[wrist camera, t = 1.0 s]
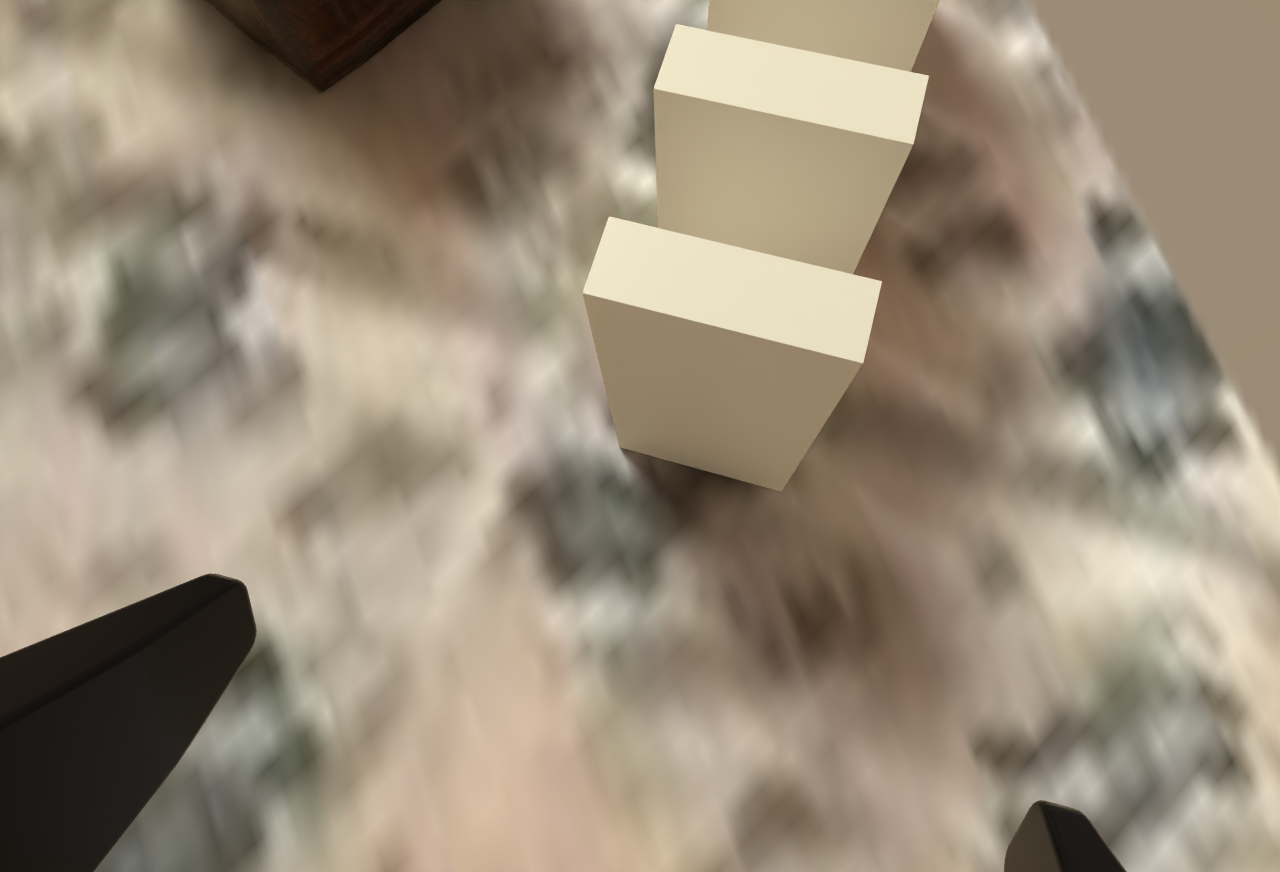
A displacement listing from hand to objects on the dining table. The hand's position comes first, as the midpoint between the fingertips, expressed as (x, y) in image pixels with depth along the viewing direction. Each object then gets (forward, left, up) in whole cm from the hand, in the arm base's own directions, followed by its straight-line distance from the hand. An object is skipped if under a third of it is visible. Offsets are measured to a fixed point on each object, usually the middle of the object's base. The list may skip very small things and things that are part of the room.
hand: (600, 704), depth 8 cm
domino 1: (+7, 0, -13) cm, 15 cm away
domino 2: (+12, 0, -13) cm, 18 cm away
